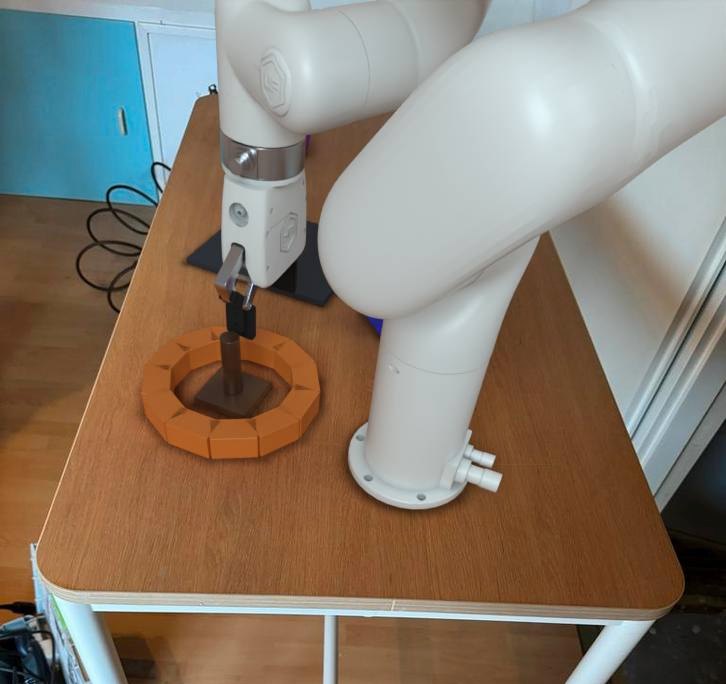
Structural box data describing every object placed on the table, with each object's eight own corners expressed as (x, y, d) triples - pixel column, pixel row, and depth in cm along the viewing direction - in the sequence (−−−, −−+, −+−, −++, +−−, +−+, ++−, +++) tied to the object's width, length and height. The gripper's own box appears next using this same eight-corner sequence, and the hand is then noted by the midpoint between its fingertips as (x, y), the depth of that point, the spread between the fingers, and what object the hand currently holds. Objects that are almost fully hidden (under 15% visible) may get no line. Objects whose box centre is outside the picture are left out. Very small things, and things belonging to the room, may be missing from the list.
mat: (372, 245, 94) (373, 240, 93) (322, 306, 82) (323, 301, 82) (250, 209, 97) (250, 203, 97) (186, 263, 86) (186, 257, 85)
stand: (271, 389, 71) (270, 330, 65) (245, 423, 67) (241, 362, 61) (223, 373, 72) (218, 312, 66) (194, 405, 68) (186, 344, 62)
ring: (342, 375, 74) (344, 356, 72) (270, 482, 62) (270, 462, 60) (203, 328, 77) (201, 308, 75) (110, 421, 65) (104, 401, 63)
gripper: (255, 202, 52) (256, 366, 65) (339, 130, 62) (325, 283, 76) (173, 176, 53) (191, 342, 66) (270, 109, 64) (268, 263, 77)
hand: (262, 310), depth 71 cm, fingers open, 9 cm apart
